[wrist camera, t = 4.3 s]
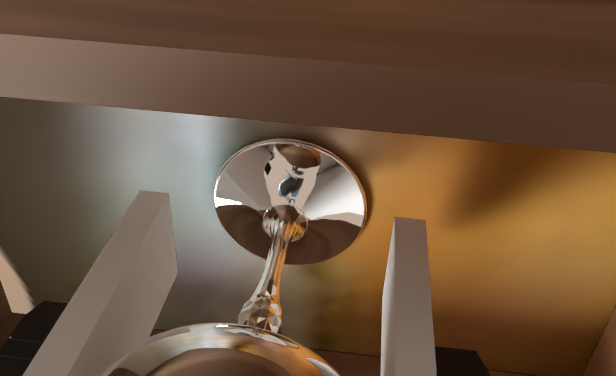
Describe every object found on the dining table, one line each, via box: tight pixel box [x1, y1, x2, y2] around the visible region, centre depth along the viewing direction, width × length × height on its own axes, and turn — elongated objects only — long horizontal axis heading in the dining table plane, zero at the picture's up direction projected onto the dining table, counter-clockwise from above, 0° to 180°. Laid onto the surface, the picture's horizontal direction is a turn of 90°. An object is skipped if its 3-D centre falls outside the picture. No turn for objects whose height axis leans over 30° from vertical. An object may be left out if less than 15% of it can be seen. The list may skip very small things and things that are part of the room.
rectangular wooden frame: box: [0, 0, 616, 376], centre depth 14 cm, size 14×22×6 cm, turn 88°
